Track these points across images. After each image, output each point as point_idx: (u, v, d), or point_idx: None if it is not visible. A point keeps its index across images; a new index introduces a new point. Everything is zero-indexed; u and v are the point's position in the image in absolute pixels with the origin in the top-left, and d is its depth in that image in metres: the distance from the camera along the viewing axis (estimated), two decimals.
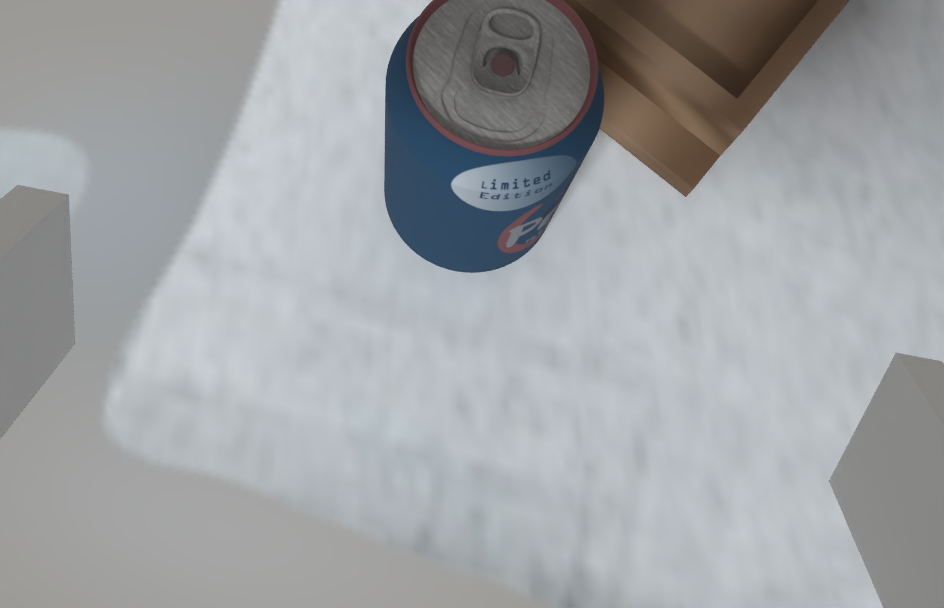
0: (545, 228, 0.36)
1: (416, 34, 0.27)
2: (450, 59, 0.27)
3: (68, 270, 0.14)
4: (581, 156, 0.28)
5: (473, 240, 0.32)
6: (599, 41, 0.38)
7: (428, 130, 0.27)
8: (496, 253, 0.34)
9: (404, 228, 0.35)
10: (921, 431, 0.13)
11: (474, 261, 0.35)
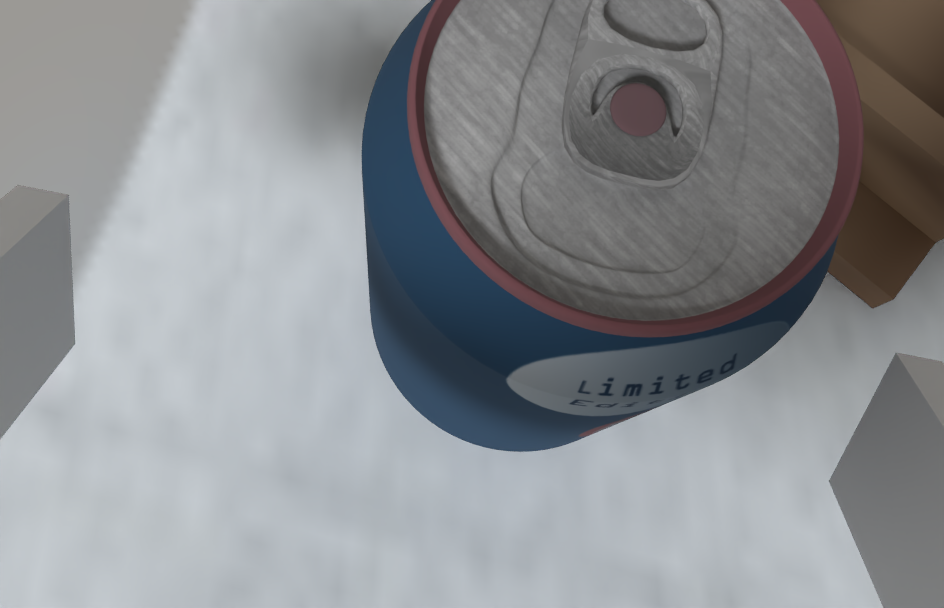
0: None
1: (433, 36, 0.11)
2: (514, 96, 0.11)
3: (68, 270, 0.14)
4: (800, 315, 0.12)
5: (534, 434, 0.17)
6: None
7: (458, 266, 0.11)
8: (571, 440, 0.18)
9: (403, 383, 0.19)
10: (922, 431, 0.13)
11: (530, 446, 0.19)
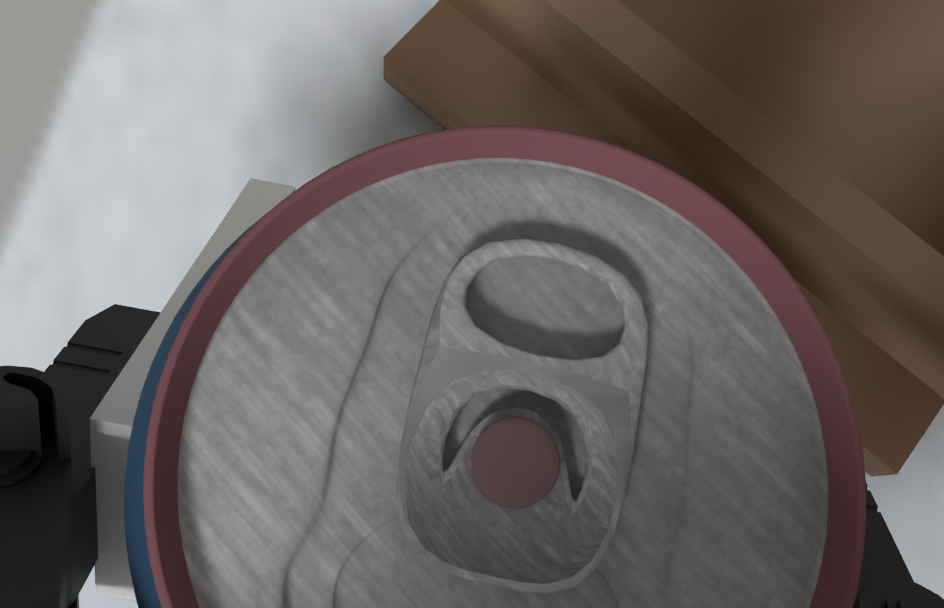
0: None
1: (194, 353, 0.07)
2: (324, 440, 0.07)
3: None
4: None
5: None
6: (706, 173, 0.19)
7: None
8: None
9: None
10: None
11: None
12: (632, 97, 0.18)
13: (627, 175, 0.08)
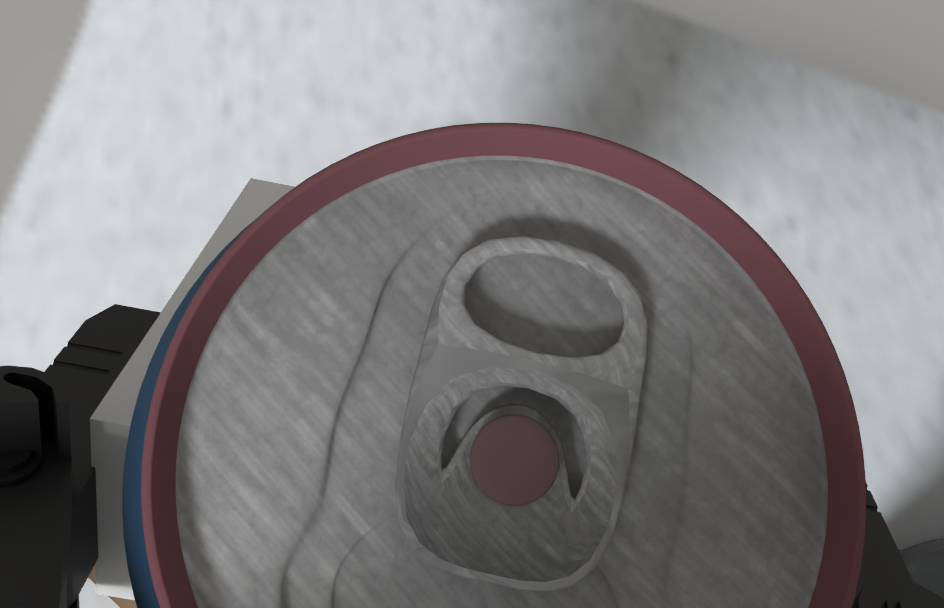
0: None
1: (192, 350, 0.07)
2: (322, 436, 0.07)
3: None
4: None
5: None
6: None
7: None
8: None
9: None
10: None
11: None
12: None
13: (626, 173, 0.08)
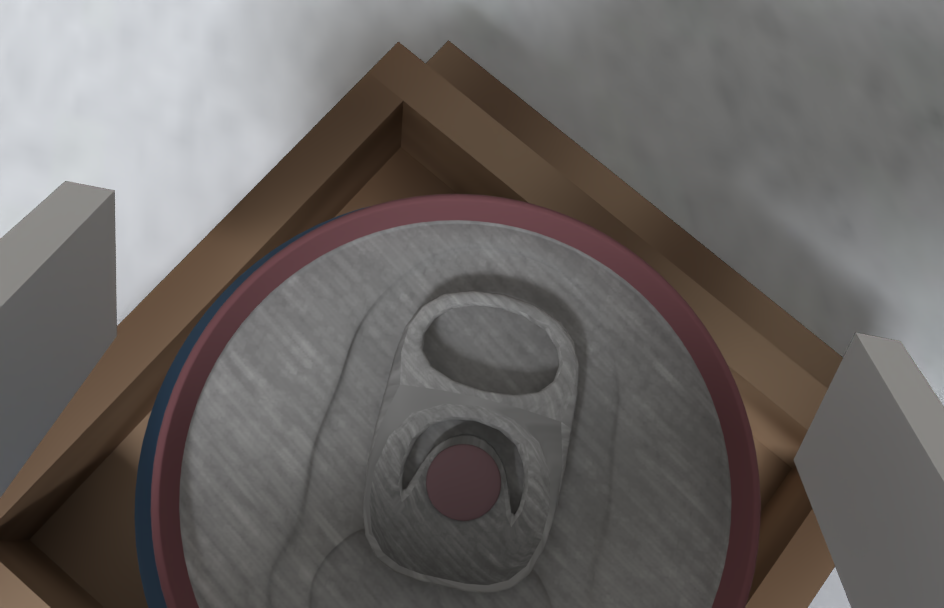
0: None
1: (193, 390, 0.09)
2: (302, 462, 0.09)
3: (112, 264, 0.14)
4: None
5: None
6: None
7: None
8: None
9: None
10: (877, 407, 0.13)
11: None
12: None
13: (563, 235, 0.09)
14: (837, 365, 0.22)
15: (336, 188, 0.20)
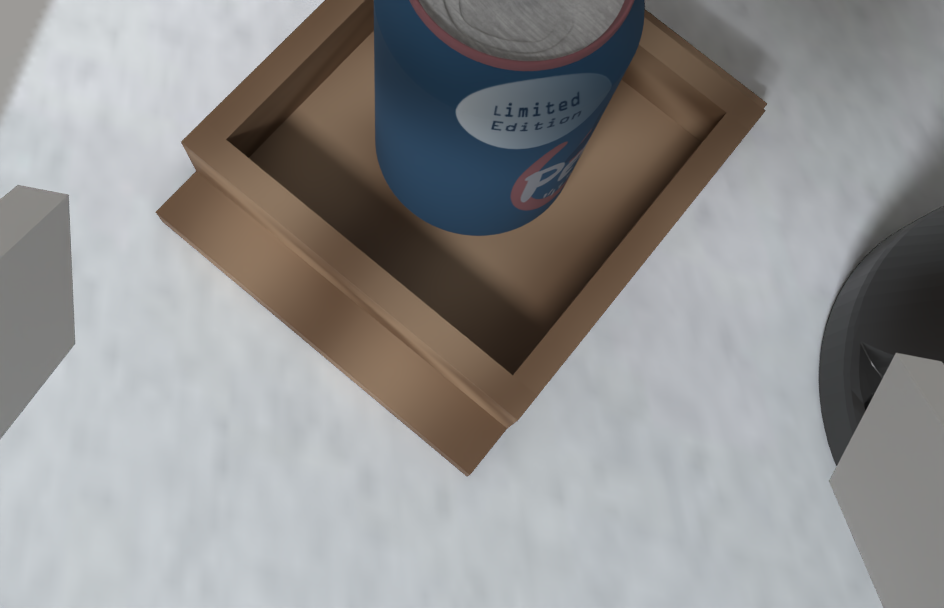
0: (565, 182, 0.30)
1: None
2: None
3: (68, 270, 0.14)
4: (617, 77, 0.22)
5: (481, 191, 0.27)
6: (348, 289, 0.30)
7: (427, 40, 0.21)
8: (508, 210, 0.28)
9: (398, 181, 0.29)
10: (921, 431, 0.13)
11: (482, 220, 0.29)
12: (297, 244, 0.30)
13: None
14: (732, 83, 0.34)
15: None
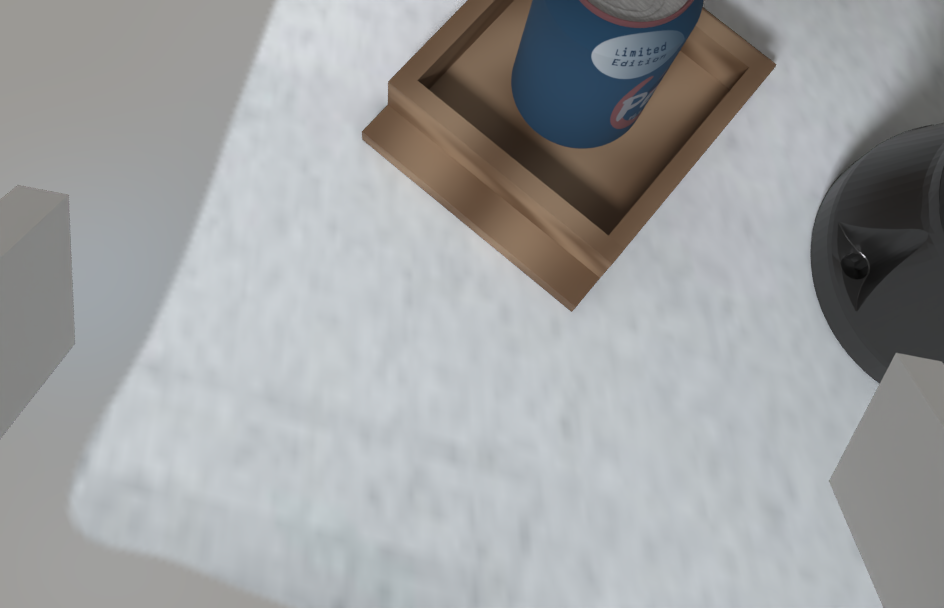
0: None
1: None
2: None
3: (68, 270, 0.14)
4: (688, 34, 0.37)
5: (593, 111, 0.41)
6: (495, 181, 0.45)
7: (579, 9, 0.36)
8: (606, 127, 0.43)
9: (532, 109, 0.44)
10: (921, 431, 0.13)
11: (588, 135, 0.44)
12: (463, 150, 0.44)
13: None
14: None
15: None
